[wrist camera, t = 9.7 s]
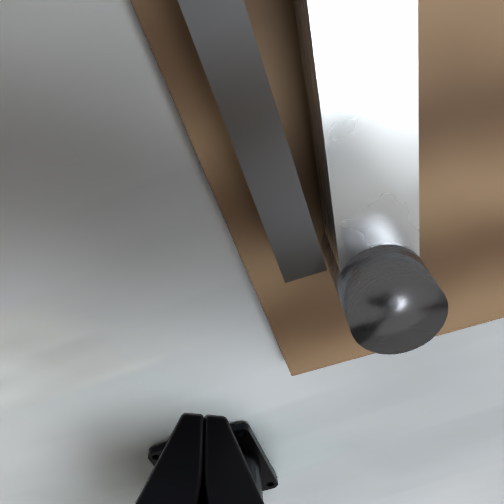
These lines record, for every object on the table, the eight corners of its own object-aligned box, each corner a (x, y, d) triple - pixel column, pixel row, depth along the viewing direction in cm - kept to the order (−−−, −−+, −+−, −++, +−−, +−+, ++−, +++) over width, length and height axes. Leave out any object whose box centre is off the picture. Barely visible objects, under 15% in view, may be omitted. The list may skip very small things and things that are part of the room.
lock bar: (399, 264, 20) (447, 344, 15) (326, 278, 20) (353, 361, 16) (384, -136, 13) (466, -189, 8) (271, -107, 13) (294, -145, 9)
